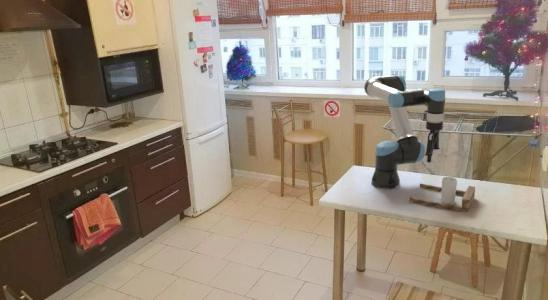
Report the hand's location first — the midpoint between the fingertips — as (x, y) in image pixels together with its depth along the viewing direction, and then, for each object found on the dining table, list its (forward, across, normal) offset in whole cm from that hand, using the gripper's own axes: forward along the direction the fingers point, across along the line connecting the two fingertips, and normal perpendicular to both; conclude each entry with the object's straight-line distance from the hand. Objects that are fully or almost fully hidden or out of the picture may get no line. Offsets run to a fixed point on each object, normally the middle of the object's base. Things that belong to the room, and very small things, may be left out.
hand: (431, 164), depth 210 cm
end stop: (+17, 0, -18) cm, 25 cm away
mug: (+18, 0, -9) cm, 20 cm away
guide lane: (+17, 0, -5) cm, 18 cm away
